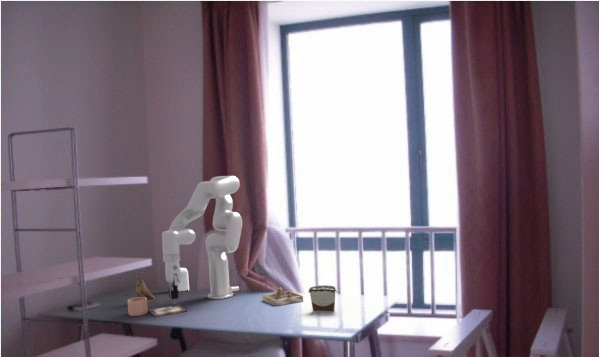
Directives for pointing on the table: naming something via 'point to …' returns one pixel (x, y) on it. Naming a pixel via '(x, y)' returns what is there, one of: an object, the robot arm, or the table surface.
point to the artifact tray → (294, 298)
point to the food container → (323, 298)
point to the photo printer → (183, 280)
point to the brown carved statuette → (143, 290)
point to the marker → (172, 301)
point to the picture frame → (166, 311)
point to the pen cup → (137, 306)
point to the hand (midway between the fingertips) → (173, 297)
